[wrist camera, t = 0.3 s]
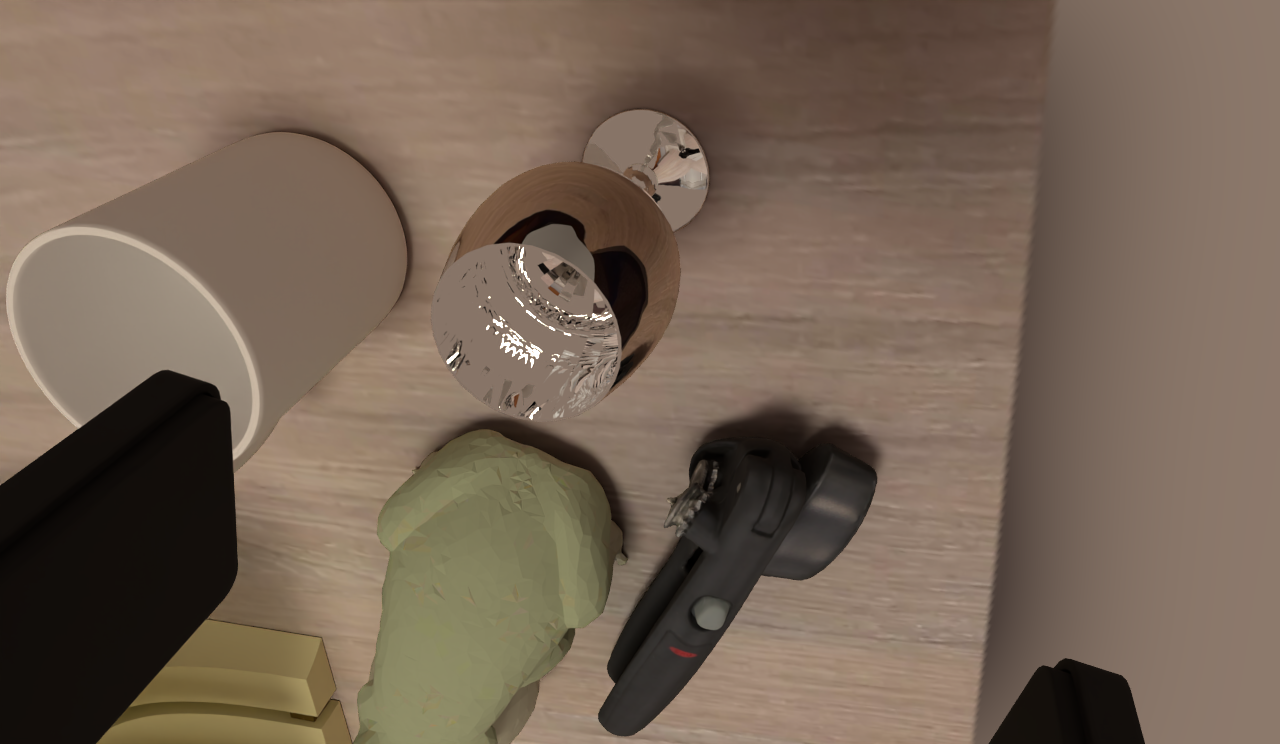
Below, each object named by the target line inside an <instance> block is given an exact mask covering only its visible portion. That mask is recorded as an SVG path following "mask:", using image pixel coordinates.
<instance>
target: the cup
mask: <svg viewBox="0 0 1280 744" xmlns="http://www.w3.org/2000/svg"><path fill="white" fill-rule="evenodd" d="M406 270H407V247H406V240H405V236H404V232H403V228H402V225H401V222H400V219H399V217H398V214H397V212H396V210H395V208H394V206H393V204H392V202H391V200H390V198H389V197H388V195H387V194H386V192H385V191H384V189H383V188H382V187H381V185H380V184H379V183H378V181H377V180H376V179H375V178H374V177H373V176H372V174H371V173H370V172H368V171H367V170H366V169H365V168H364V167H363V166H362V165H361V164H360V163H359V162H357V161H356V160H355V159H354V158H352V157H351V156H349V155H348V154H347V153H345V152H344V151H342V150H340V149H339V148H337V147H335V146H333V145H331V144H329V143H327V142H325V141H322V140H320V139H317V138H314V137H310V136H307V135H302V134H296V133H289V132H271V133H265V134H260V135H256V136H252V137H249V138H246V139H243V140H240V141H238V142H236V143H234V144H231V145H229V146H227V147H224V148H222V149H220V150H218V151H216V152H214V153H212V154H210V155H207V156H205V157H203V158H201V159H199V160H197V161H195V162H193V163H190V164H188V165H186V166H184V167H182V168H180V169H178V170H176V171H173V172H171V173H169V174H167V175H165V176H163V177H161V178H158V179H156V180H154V181H152V182H150V183H148V184H146V185H144V186H141V187H139V188H137V189H135V190H133V191H131V192H129V193H127V194H124V195H122V196H120V197H118V198H116V199H114V200H112V201H110V202H107V203H105V204H103V205H101V206H99V207H97V208H95V209H93V210H90V211H88V212H86V213H84V214H82V215H80V216H78V217H76V218H73V219H71V220H69V221H67V222H65V223H63V224H61V225H59V226H56V227H54V228H52V229H50V230H48V231H46V232H44V233H42V234H40V235H38V236H37V237H35V238H34V239H32V240H31V241H30V242H29V243H28V244H27V245H26V246H25V247H24V248H23V249H22V250H21V252H20V253H19V254H18V256H17V258H16V260H15V261H14V263H13V266H12V268H11V271H10V274H9V278H8V282H7V290H6V307H7V316H8V320H9V325H10V329H11V332H12V336H13V339H14V341H15V344H16V347H17V349H18V351H19V353H20V356H21V358H22V360H23V362H24V364H25V365H26V367H27V369H28V371H29V372H30V374H31V376H32V377H33V379H34V380H35V382H36V383H37V385H38V386H39V387H40V389H41V390H42V391H43V393H44V394H45V395H46V397H47V398H48V399H49V400H50V401H51V402H52V404H53V405H54V406H55V407H56V408H57V409H58V410H59V411H60V412H61V413H62V414H63V415H64V416H65V417H66V418H67V419H68V420H69V421H70V422H71V423H72V424H73V425H74V426H76V427H77V428H78V429H79V428H80V427H82V426H83V425H84V424H86V423H87V422H88V421H90V420H91V419H93V418H94V417H95V416H97V415H98V414H99V413H101V412H102V411H104V410H105V409H106V408H108V407H109V406H111V405H112V404H113V403H115V402H116V401H117V400H119V399H120V398H122V397H123V396H124V395H126V394H127V393H128V392H130V391H131V390H133V389H134V388H135V387H137V386H138V385H139V384H141V383H142V382H144V381H145V380H146V379H148V378H149V377H150V376H152V375H153V374H155V373H157V372H159V371H161V370H171V371H174V372H177V373H180V374H183V375H186V376H190V377H193V378H196V379H199V380H202V381H205V382H208V383H211V384H213V385H215V386H216V387H217V388H218V390H219V392H220V397H221V400H223V401H225V402H227V403H228V405H229V407H230V412H231V431H232V452H233V472H234V473H235V472H236V471H237V470H238V469H240V468H241V467H242V466H243V465H244V464H245V463H246V462H247V461H248V460H249V459H250V458H251V457H252V456H253V455H254V454H255V453H256V452H257V451H258V449H259V448H260V447H261V446H262V445H263V443H264V442H265V441H266V439H267V438H268V437H269V435H270V434H271V432H272V431H273V429H274V428H275V426H276V425H277V423H278V421H279V419H280V418H281V417H282V416H283V415H284V414H285V413H286V412H287V411H288V410H289V409H290V408H291V407H293V406H294V405H295V404H296V403H297V402H298V401H299V400H300V399H301V398H302V397H303V396H304V395H305V394H306V393H307V392H308V391H309V390H310V389H312V388H313V387H314V386H315V385H316V384H317V383H318V382H319V381H320V380H321V379H322V378H323V377H324V376H325V375H326V374H327V373H328V372H329V371H330V370H332V369H333V368H334V367H335V366H336V365H337V364H338V363H339V362H340V361H341V360H342V359H343V358H344V357H345V356H346V355H347V354H348V353H349V352H351V351H352V350H353V349H354V348H355V347H356V346H357V345H358V344H359V343H360V342H361V341H362V340H363V339H364V338H365V337H366V336H367V335H368V334H370V333H371V332H372V331H373V330H374V329H375V328H376V327H377V326H378V325H379V324H380V323H381V321H382V320H383V319H384V318H385V317H386V316H387V315H388V313H389V312H390V311H391V309H392V308H393V306H394V305H395V303H396V301H397V300H398V298H399V296H400V293H401V291H402V288H403V285H404V281H405V276H406Z"/></svg>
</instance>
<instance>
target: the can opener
mask: <svg viewBox="0 0 1280 744" xmlns="http://www.w3.org/2000/svg"><path fill="white" fill-rule="evenodd" d="M689 480H690V484H689V488H688V489H686V490H685V491H684V492H683V493H682V494H681V495H679V496H677V497H674V498H668V499H667V502H669V503H670V504H671V509H670V512H669V514H668V517H667V519H666V521H665V525H664V528H667V527H669V526H672V525H676V526H677V530H676V536H677V537H680V536H682V537H681V539H680V541H679V543H678V545H677V546H676V548H675V550H674V552H673V554H672V555H671V556H670V558H669V560H668V562H667V563H666V565H665V566H664V568H663V569H662V570H661V572H660V574H659V575H658V576H657V578H656V579H655V581H654V582H653V583H652V585H651V586H650V587H649V589H648V591H647V592H646V594H645V595H644V597H643V598H642V600H641V601H640V603H639V604H638V606H637V607H636V609H635V611H634V612H633V614H632V616H631V617H630V619H629V621H628V622H627V624H626V626H625V628H624V630H623V631H622V633H621V635H620V637H619V640H618V641H617V644H616V646H615V648H614V650H613V652H612V654H611V657H610V659H609V662H608V666H607V670H608V674H609V676H610V677H611V679H612V680H613V681H614V683H615V686H614V687H613V689H612V690H611V692H610V694H609V695H608V697H607V699H606V700H605V702H604V704H603V706H602V707H601V709H600V711H599V713H598V719H599V722H600V723H601V724H602V726H603V727H604V728H605V729H606V730H607V731H609V732H610V733H612V734H614V735H617V736H631V735H634V734H635V733H637V732H638V731H640V730H642V729H643V728H645V727H646V726H647V725H648V724H649V723H650V722H651V721H652V720H653V719H654V718H655V717H656V716H657V715H658V714H659V713H660V712H661V711H662V710H663V709H664V708H665V707H666V706H667V705H668V704H669V703H670V702H671V701H672V700H673V699H674V698H675V697H676V695H677V694H679V692H680V691H681V690H682V689H683V688H684V686H685V685H686V684H687V683H688V682H689V680H690V679H691V678H692V676H693V675H694V674H695V673H696V672H697V670H698V669H699V668H700V666H701V665H702V663H703V662H704V661H705V659H706V658H707V657H708V655H709V654H710V653H711V651H712V650H713V648H714V647H715V646H716V644H717V642H718V641H719V640H720V638H721V637H722V636H723V634H724V632H725V631H726V629H727V628H728V627H729V626H730V624H731V622H732V621H733V619H734V618H735V616H736V615H737V613H738V611H739V610H740V608H741V607H742V605H743V603H744V602H745V600H746V599H747V597H748V596H749V594H750V592H751V591H752V589H753V587H754V585H755V584H756V583H757V581H758V579H759V578H760V576H761V575H763V576H768V577H770V576H773V577H779V578H787V579H793V580H804V579H808V578H811V577H813V576H814V575H816V574H817V573H819V572H820V571H822V570H824V569H825V568H826V566H828V565H829V564H830V563H831V562H832V561H833V560H834V559H835V558H836V557H837V556H838V555H839V554H840V553H841V552H842V551H843V549H844V548H845V547H846V546H847V544H848V543H849V542H850V540H851V539H852V537H853V536H854V535H855V533H856V532H857V530H858V528H859V527H860V525H861V524H862V522H863V519H864V517H865V516H866V514H867V511H868V509H869V507H870V505H871V502H872V499H873V496H874V493H875V488H876V484H877V474H876V471H875V470H874V469H873V468H872V467H871V466H870V465H868V464H866V463H865V462H863V461H861V460H859V459H857V458H856V457H854V456H852V455H850V454H848V453H847V452H845V451H843V450H841V449H839V448H837V447H836V446H834V445H833V444H820V445H818V446H817V447H815V448H813V449H812V450H810V451H809V452H808V453H807V454H805V455H804V456H803V457H802V458H801V459H800V460H799V461H797V459H796V457H795V456H794V455H793V454H792V452H791V451H790V450H789V449H788V448H786V447H785V446H784V445H782V444H781V443H779V442H777V441H774V440H770V439H766V438H753V437H740V438H727V439H720V440H715V441H712V442H708V443H706V444H704V445H702V446H701V447H700V448H699V449H698V450H697V451H696V452H695V454H694V455H693V457H692V460H691V464H690V468H689Z"/></svg>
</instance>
